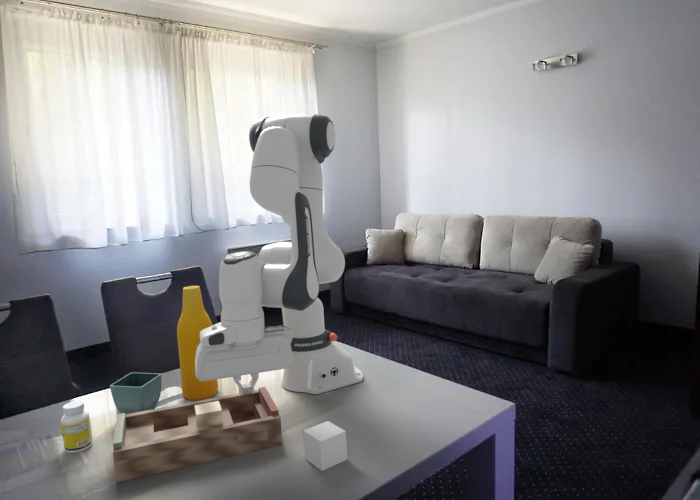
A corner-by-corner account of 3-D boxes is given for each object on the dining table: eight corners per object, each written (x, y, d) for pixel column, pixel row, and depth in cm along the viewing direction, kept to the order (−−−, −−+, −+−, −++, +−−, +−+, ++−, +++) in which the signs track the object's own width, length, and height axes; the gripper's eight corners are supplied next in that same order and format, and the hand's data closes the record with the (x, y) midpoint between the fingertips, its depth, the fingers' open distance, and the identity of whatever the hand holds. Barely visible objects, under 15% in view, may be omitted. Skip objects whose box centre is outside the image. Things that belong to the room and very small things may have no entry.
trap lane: (265, 412, 123) (263, 384, 122) (282, 444, 107) (280, 412, 106) (121, 441, 112) (117, 411, 111) (116, 482, 96) (112, 447, 95)
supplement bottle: (71, 442, 112) (66, 400, 111) (96, 440, 113) (92, 398, 112) (59, 455, 107) (54, 410, 106) (86, 452, 107) (81, 408, 106)
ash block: (220, 422, 109) (218, 400, 109) (223, 433, 105) (221, 409, 104) (196, 427, 108) (194, 405, 107) (198, 438, 103) (196, 414, 102)
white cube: (305, 459, 101) (303, 430, 100) (329, 448, 105) (327, 420, 104) (322, 471, 96) (320, 441, 96) (347, 459, 100) (345, 431, 99)
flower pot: (145, 423, 120) (141, 386, 119) (112, 421, 122) (108, 385, 121) (165, 407, 129) (162, 373, 128) (134, 405, 130) (131, 372, 129)
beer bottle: (206, 402, 130) (196, 291, 127) (175, 399, 133) (164, 290, 129) (225, 388, 139) (216, 284, 135) (195, 385, 142) (186, 283, 138)
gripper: (288, 321, 113) (290, 381, 114) (192, 332, 106) (196, 396, 107) (295, 327, 107) (298, 390, 109) (194, 339, 100) (198, 407, 101)
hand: (246, 393), depth 108 cm, fingers closed
